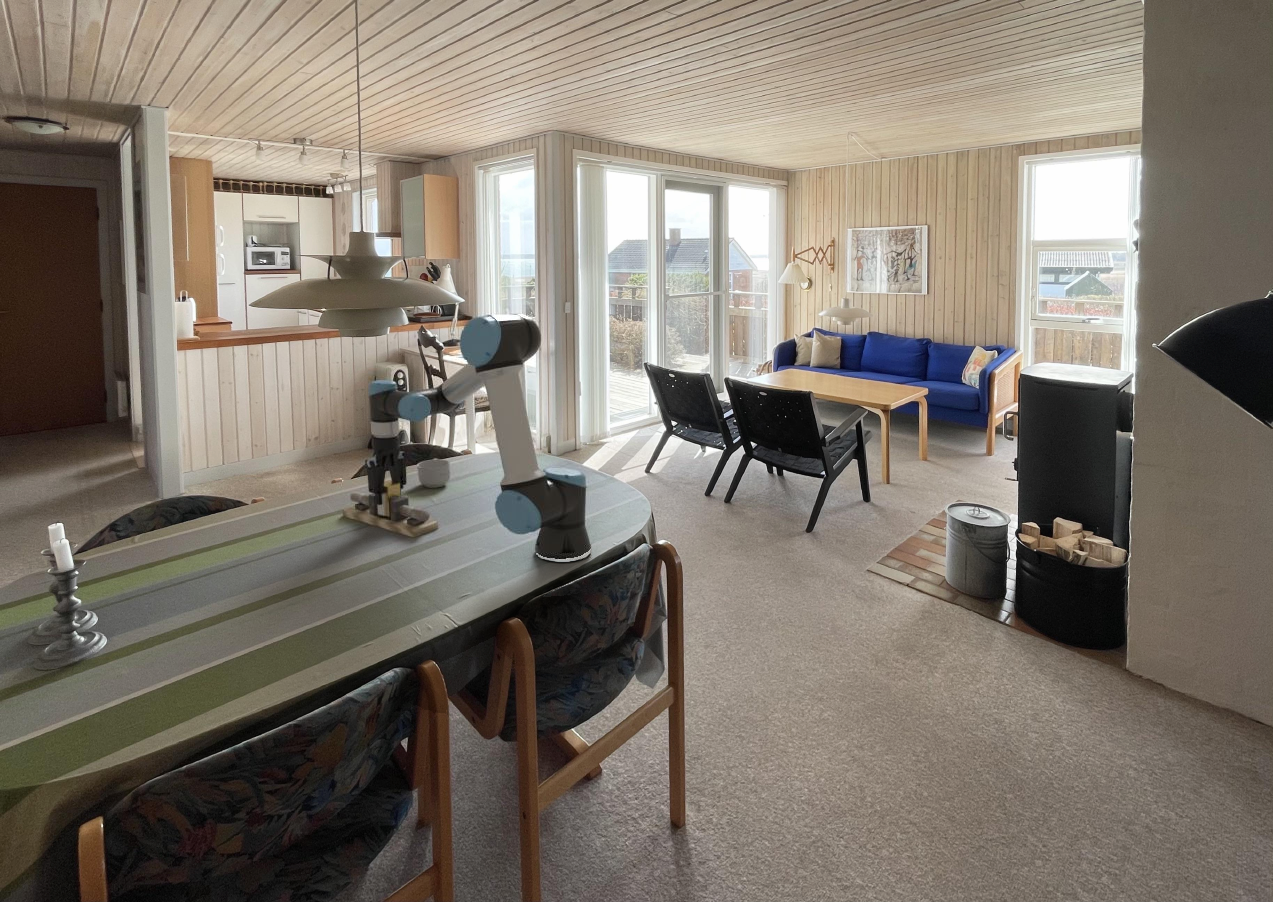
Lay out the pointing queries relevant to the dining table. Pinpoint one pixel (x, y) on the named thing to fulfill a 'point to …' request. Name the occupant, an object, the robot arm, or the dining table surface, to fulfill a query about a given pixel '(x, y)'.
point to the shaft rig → (400, 519)
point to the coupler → (391, 494)
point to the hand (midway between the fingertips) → (389, 511)
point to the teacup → (434, 472)
